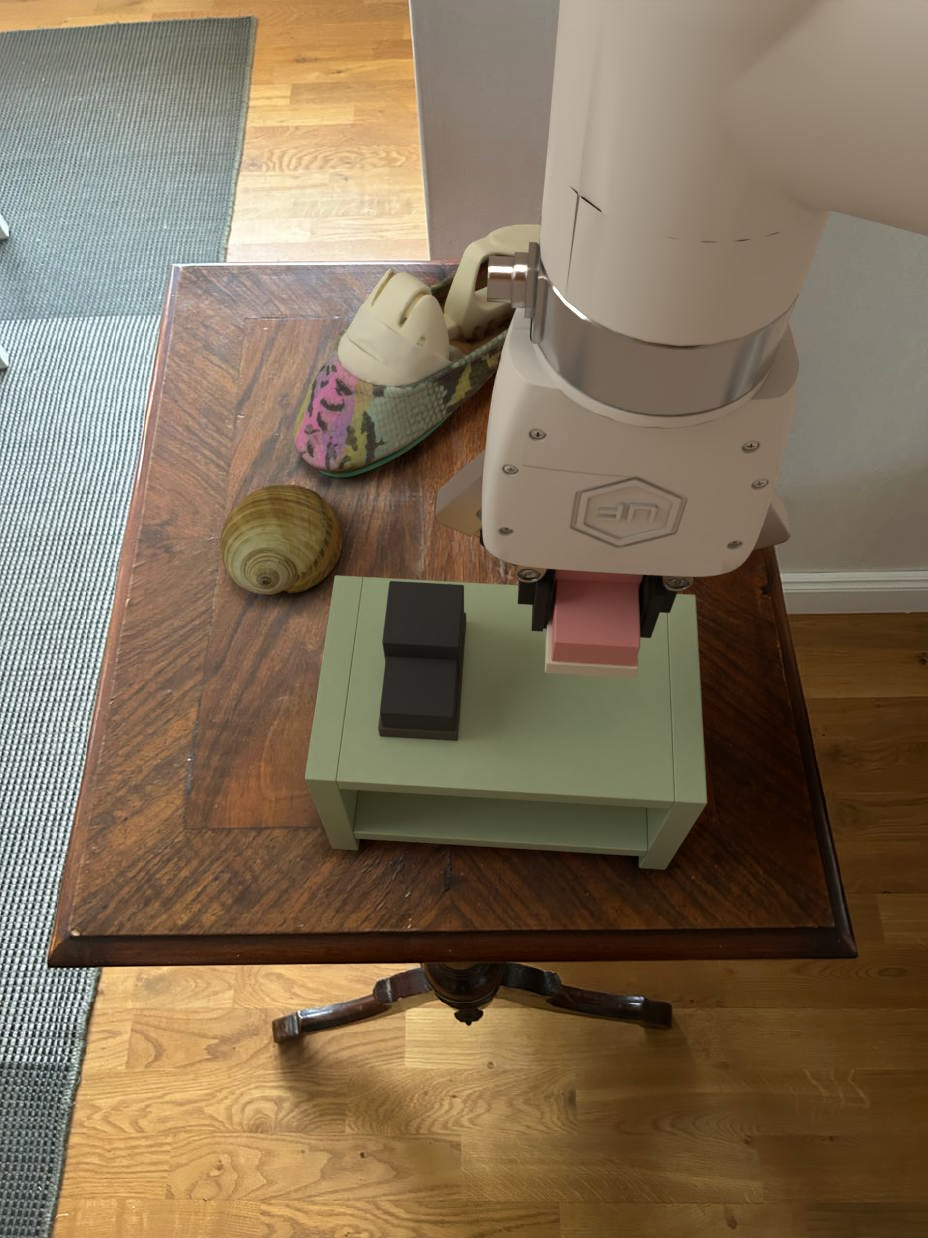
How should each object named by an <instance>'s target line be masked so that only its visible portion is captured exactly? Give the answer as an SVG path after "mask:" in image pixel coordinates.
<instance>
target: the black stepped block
mask: <svg viewBox="0 0 928 1238" xmlns="http://www.w3.org/2000/svg"><path fill="white" fill-rule="evenodd" d="M465 633H466V613H464V585H457V584H438V583H420V582H401V581H390V582H389V589H388V597H387V606H386V614H385V623H384V631H383V640H382V644H383V650H384V657H385V670H384V679H383V687H382V696H381V705H380V717H379V725H378V730H379V735H380V736H384V737H401V738H417V739H434V740H451V741H457V740H458V730H459V716H460V702H461V688H462V675H463V661H464V647H465Z"/></svg>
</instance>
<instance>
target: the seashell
mask: <svg viewBox="0 0 928 1238" xmlns="http://www.w3.org/2000/svg"><path fill="white" fill-rule="evenodd" d="M219 543H220V545H219V546H220V547H219V549H220V550H219V551H220V555H221V560H222V563H223V565H224V568H225V571H226V573H227V574H228V576H229V577H230V578H231V580H232V581H233V582H234V583H235V584H236V585H238V587H241V588H242V589H243V590H245V591H248V592H250V593H254V594H256V595H268V596H270V595H271V596H272V595H273V596H274V595H276V594H278V593H281V592H283V591H284V592H287V594H296V593H301V592H305V591H308V590H310V589H311V588H312V587H315V586H316V585H320V584H321V583H322V581H324V579H325V578H328V577H329V576H330V574H331V573H332V571H333V569H335V567H337V563H338V561H339V560H340V559H341V554H342V548H343V535H342V528H341V525H340V522H339V519H338V517H337V515H336V513H335V511H334V510H333V508H332V507H331V506H330V504H329V503H328V502H327V501H326V500H325V499H324V497H322V496H321V495H320V494H319V493H317V492H316V491H314V490H313V489H311V488H308V487H305V486H301V485H296V484H274V485H273V484H272V485H267V486H264V487H261V488H259V489H257V490H255V491H253V492H252V493H250V494H248V495H247V496H245V497H244V498H243V499H241V500H240V501H239V502H238V503H237V504H236V506H235V507H233V509H232V510H231V512H230V513H229V514H228V516H227V518H226V520H225V522H224V524H223V526H222V530H221V533H220V542H219Z"/></svg>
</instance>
